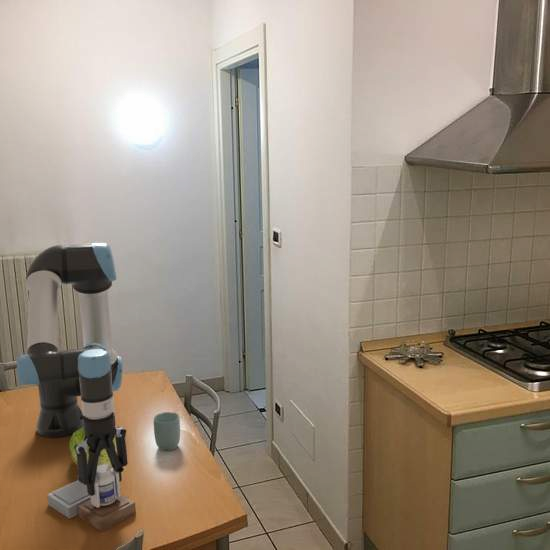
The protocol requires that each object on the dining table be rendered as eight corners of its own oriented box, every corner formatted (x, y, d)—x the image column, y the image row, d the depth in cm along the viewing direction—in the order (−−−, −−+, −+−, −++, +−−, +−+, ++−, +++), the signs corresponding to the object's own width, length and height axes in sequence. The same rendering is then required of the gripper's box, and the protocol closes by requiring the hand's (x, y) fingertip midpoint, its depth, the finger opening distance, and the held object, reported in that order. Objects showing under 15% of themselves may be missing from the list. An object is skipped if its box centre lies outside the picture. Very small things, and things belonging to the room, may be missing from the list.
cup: (175, 454, 189) (174, 423, 187) (151, 452, 190) (149, 421, 188) (184, 442, 196) (182, 412, 194) (161, 440, 198) (159, 411, 196)
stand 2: (78, 516, 158) (77, 504, 157) (112, 499, 165) (111, 488, 165) (101, 531, 152) (100, 519, 151) (135, 513, 159) (134, 501, 158)
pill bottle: (96, 495, 160) (94, 463, 158) (117, 493, 161) (115, 462, 159) (92, 507, 155) (89, 474, 153) (114, 505, 156) (111, 473, 154)
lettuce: (74, 479, 166) (111, 445, 169) (58, 437, 187) (91, 407, 190) (103, 504, 172) (139, 470, 174) (85, 461, 193) (116, 431, 195)
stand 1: (48, 504, 164) (47, 493, 163) (82, 488, 171) (81, 477, 170) (69, 518, 157) (68, 506, 157) (103, 501, 165) (102, 489, 164)
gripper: (73, 431, 144) (82, 522, 149) (138, 405, 157) (144, 489, 162) (56, 422, 149) (65, 510, 153) (120, 397, 162) (127, 479, 167)
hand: (106, 499), depth 158 cm, fingers closed on pill bottle, 5 cm apart
